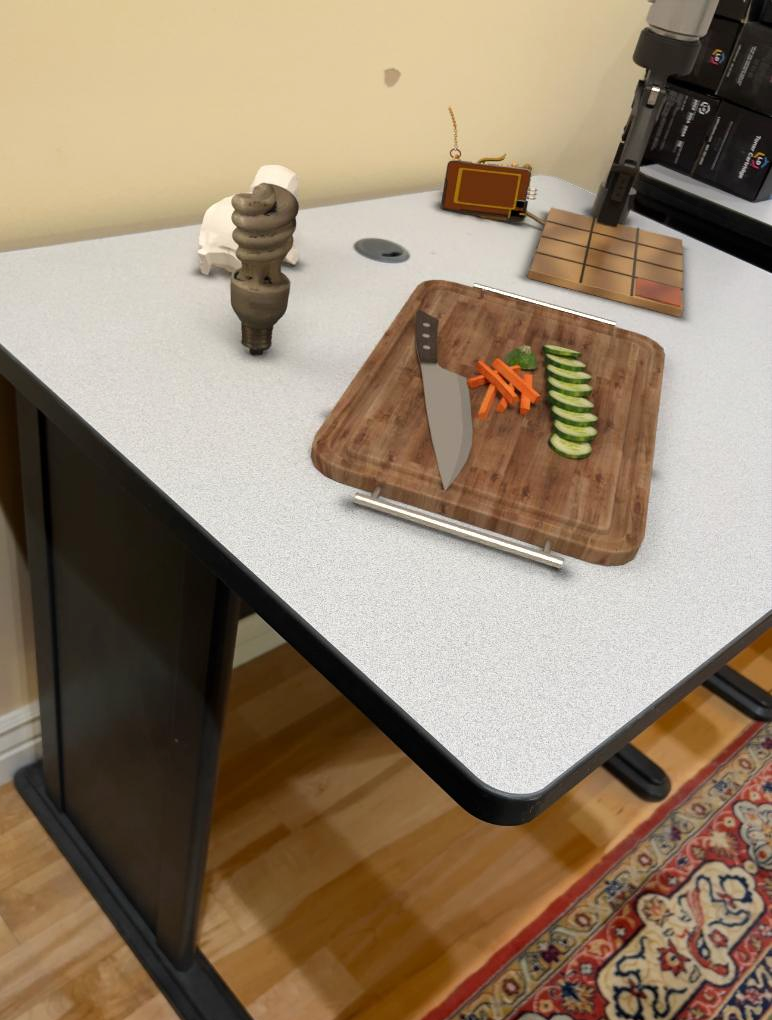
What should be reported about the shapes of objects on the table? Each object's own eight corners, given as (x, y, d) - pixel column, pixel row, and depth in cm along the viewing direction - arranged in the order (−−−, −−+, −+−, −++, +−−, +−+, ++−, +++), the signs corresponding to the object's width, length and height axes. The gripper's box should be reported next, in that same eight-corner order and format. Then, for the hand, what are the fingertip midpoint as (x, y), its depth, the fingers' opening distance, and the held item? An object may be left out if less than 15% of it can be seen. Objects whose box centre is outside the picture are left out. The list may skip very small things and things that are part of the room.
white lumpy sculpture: (265, 315, 95) (321, 224, 101) (259, 252, 87) (320, 157, 93) (193, 292, 96) (254, 204, 102) (182, 228, 89) (247, 137, 95)
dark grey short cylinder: (626, 215, 126) (637, 186, 123) (625, 227, 122) (636, 197, 120) (591, 207, 126) (601, 178, 124) (589, 218, 123) (599, 188, 120)
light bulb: (234, 369, 80) (247, 197, 69) (213, 340, 83) (222, 172, 73) (291, 363, 82) (312, 196, 72) (268, 335, 85) (285, 171, 75)
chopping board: (632, 597, 64) (648, 565, 62) (287, 486, 68) (291, 452, 66) (662, 343, 96) (674, 317, 94) (427, 278, 100) (433, 251, 98)
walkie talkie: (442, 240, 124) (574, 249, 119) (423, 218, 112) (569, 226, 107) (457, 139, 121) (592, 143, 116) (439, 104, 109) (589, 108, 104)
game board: (679, 246, 120) (682, 238, 119) (679, 317, 102) (684, 307, 101) (548, 214, 122) (551, 205, 121) (527, 278, 104) (530, 268, 104)
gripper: (645, 10, 119) (589, 175, 133) (640, 43, 101) (575, 230, 115) (701, 23, 118) (638, 188, 132) (706, 58, 100) (632, 245, 114)
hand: (609, 208), depth 124 cm, fingers open, 13 cm apart
